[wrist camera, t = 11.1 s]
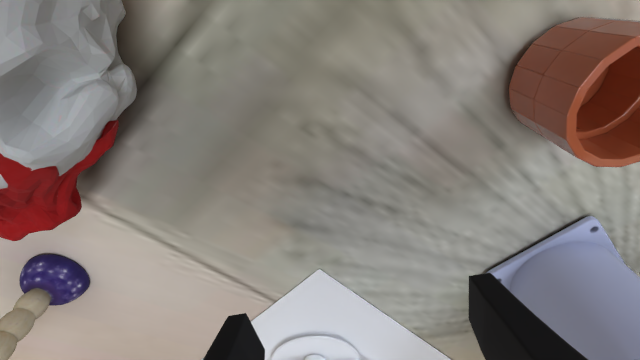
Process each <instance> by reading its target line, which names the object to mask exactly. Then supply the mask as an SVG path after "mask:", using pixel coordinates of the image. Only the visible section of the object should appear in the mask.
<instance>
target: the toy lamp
mask: <svg viewBox="0 0 640 360" xmlns="http://www.w3.org/2000/svg"><path fill="white" fill-rule="evenodd" d="M89 283H90V280H89V277H88V275H87V273H86V272H85V270H84V269H83V268H82V267H81V266H80V265H78V264H77V263H75V262H73V261H72V260H70V259H68V258H65V257H62V256H58V255H50V254H48V255H45V254H44V255H39V256H35V257H33V258H31V259H30V260H29V261H28V262H27V263H26V264H25V266H24V267H23V269H22V271H21V275H20V286H21V289H22V291H23V292H24V295H22V296H21V297H20V298H19V299H18V301H17V302H16V303H15V305H14V308H13V310H12V311H11V312H9V313H7V314H6V315H5V316H3V317H2V318H1V319H0V360H8V359H9V358H10V357H11V355H12V354H13V352H14V350H15V348H16V345H17V342H19V341H20V340H22V339H23V338H24V337H25V336H26V335H27V334H28V333H29V332H30V330H31V329H32V327H33V325H34V322H35V320H36V319H37V318H39V317H40V316H41V315H42V314H43V313H44V312H45V311H46V309H47V308H48V306H49V305H63V304H66V303H69V302H71V301H73V300H75V299H77V298H78V297H79V296H81V295H82V294H83V293H84V292H85V291H86V290H87V289H88V287H89Z"/></svg>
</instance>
